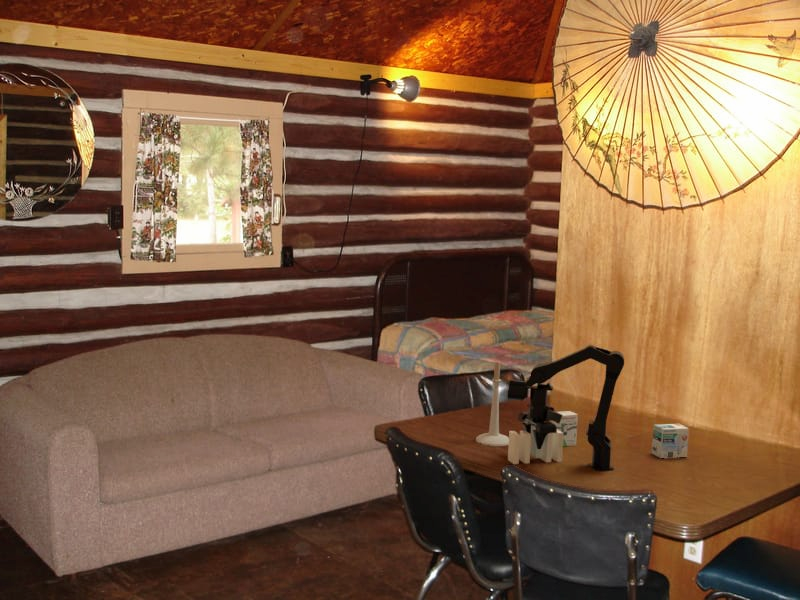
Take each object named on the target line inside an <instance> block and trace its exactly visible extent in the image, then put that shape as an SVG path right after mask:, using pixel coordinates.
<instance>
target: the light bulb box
mask: <svg viewBox="0 0 800 600" xmlns="http://www.w3.org/2000/svg"><path fill="white" fill-rule="evenodd" d="M652 433H653V434H652V445H651V447H652V448H651V454H652V455H653V456H656V457H658V458H659V459H661V458H664V459H680V458H679V457H687V458H688V456H687V455H688V448H689V447H688V446H689V433H690V428H689V427H687V426H685V425H682V424H681V423H666V424H665V423H663V424H658V423H657V424H653V432H652ZM677 457H678V458H677Z"/></svg>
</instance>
